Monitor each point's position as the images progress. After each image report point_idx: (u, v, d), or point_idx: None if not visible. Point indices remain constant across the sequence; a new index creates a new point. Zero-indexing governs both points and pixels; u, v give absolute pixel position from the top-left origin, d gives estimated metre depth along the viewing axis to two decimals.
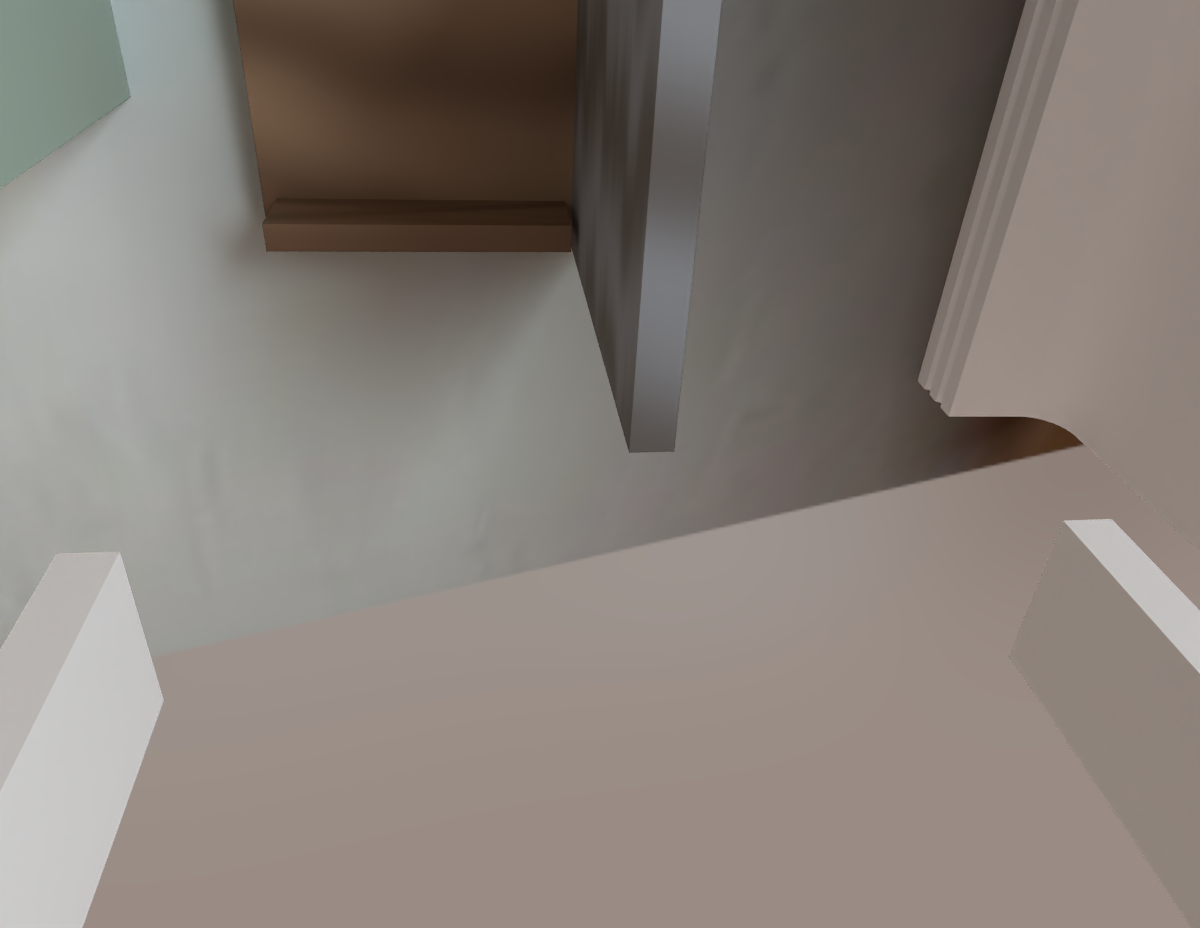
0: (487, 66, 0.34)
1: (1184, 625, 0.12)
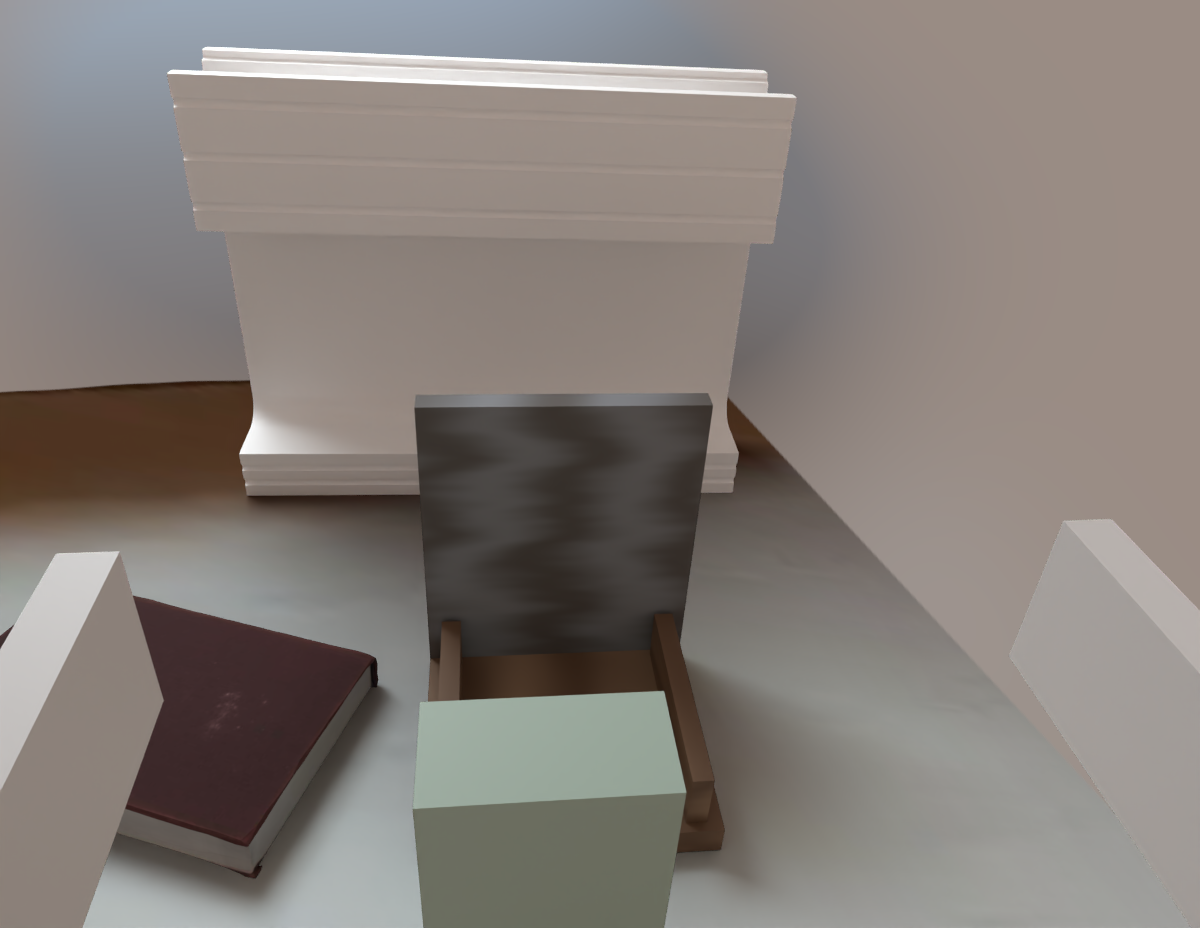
0: None
1: (1184, 625, 0.12)
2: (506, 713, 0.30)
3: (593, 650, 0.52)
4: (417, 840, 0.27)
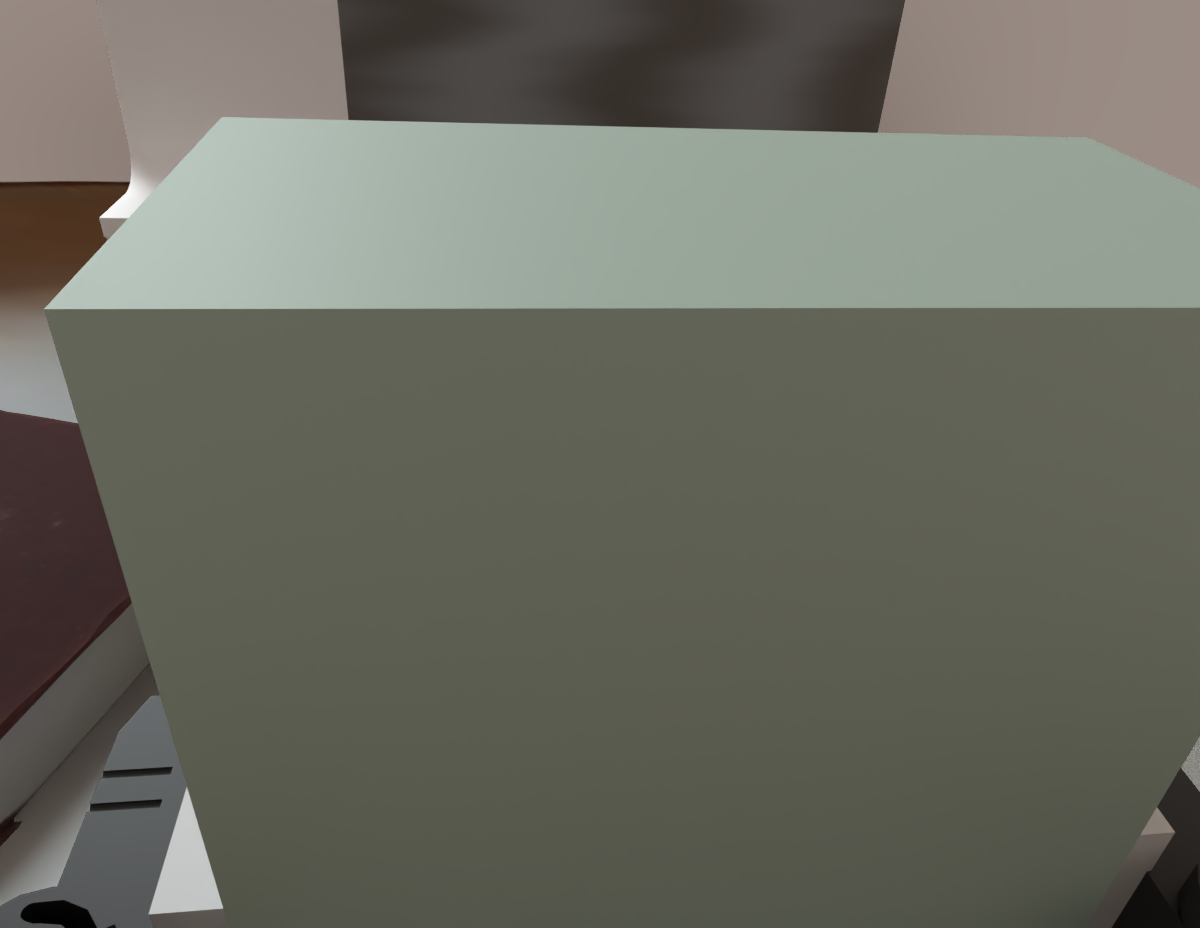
0: None
1: None
2: (550, 143, 0.08)
3: None
4: (125, 546, 0.05)
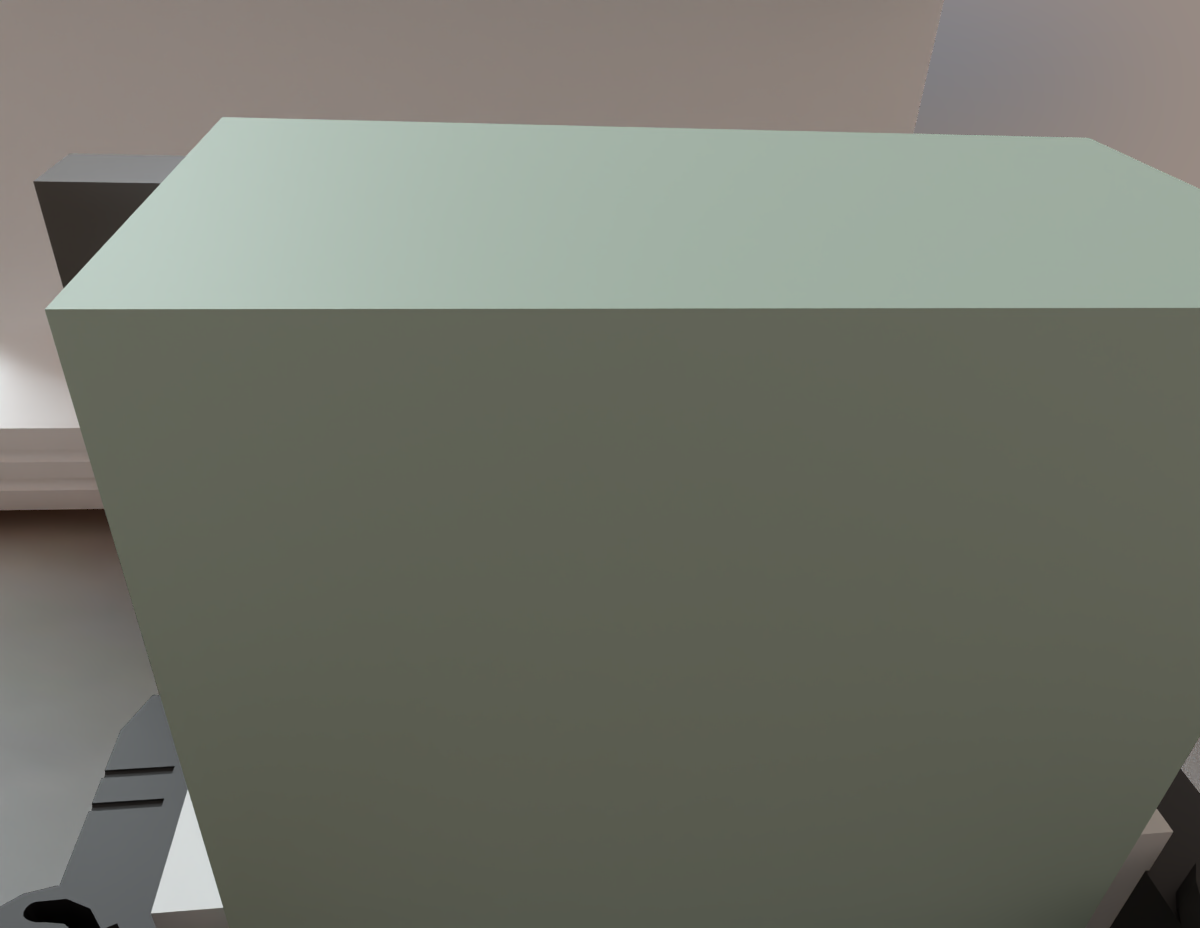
0: None
1: None
2: (551, 143, 0.08)
3: None
4: (125, 546, 0.05)
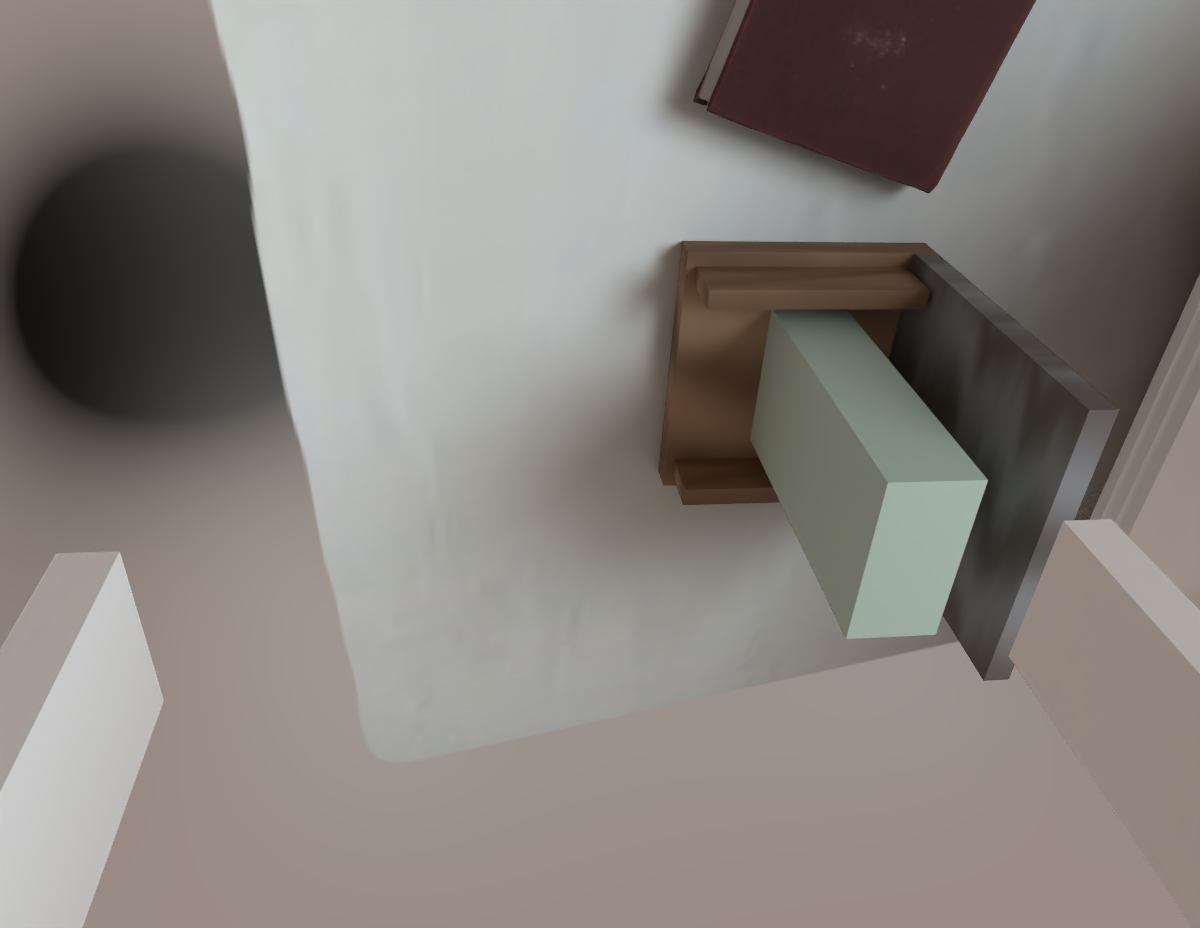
0: None
1: (1184, 625, 0.12)
2: (953, 538, 0.37)
3: None
4: (873, 462, 0.36)
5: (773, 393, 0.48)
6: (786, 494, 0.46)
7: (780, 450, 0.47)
